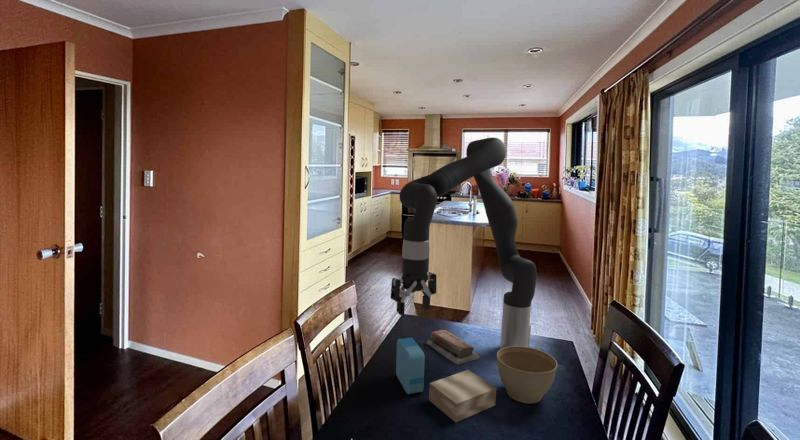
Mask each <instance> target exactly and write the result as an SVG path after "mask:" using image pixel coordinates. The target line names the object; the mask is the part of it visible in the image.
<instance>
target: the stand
mask: <svg viewBox="0 0 800 440" xmlns="http://www.w3.org/2000/svg"><path fill="white" fill-rule="evenodd" d="M428 388H429V389H428V391H429V392H428V393H429V394H428V402H430V403H432V404H433V405H434V406H435V407H436V408H437V409H438V410H440V411H441V412H442V413H444V414H445V415H446V416H447V417H448V418H450V419H451V420H452V421H453V422H455V423H458V422H460V421H462V420H465V419H467V418H469V417H472V416H474V415H476V414H478V413H481V412H482V411H486V410H487V409H491V408H493V407H495V406H496V399H497V387H496V386H494V385H493V384H491V383H489V382H488V381H486V380H485V379H484V378H481V376H478V375H477V374H475V373H474V372H472V371H470V370H469V369H466V370H463V371H460V372H457V373H454V374H452V375H450V376H445V377H444V378H440V379H438V380H433V381H431V382H430V383H429V387H428Z"/></svg>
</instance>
